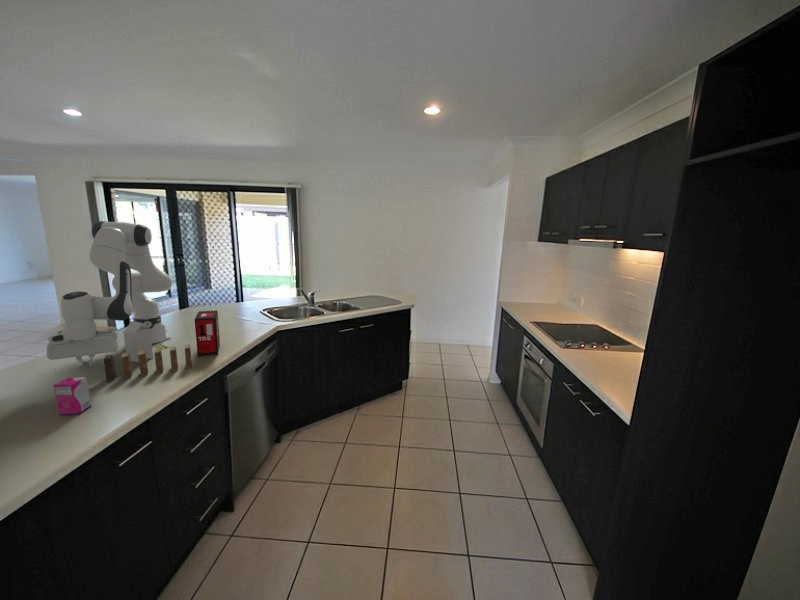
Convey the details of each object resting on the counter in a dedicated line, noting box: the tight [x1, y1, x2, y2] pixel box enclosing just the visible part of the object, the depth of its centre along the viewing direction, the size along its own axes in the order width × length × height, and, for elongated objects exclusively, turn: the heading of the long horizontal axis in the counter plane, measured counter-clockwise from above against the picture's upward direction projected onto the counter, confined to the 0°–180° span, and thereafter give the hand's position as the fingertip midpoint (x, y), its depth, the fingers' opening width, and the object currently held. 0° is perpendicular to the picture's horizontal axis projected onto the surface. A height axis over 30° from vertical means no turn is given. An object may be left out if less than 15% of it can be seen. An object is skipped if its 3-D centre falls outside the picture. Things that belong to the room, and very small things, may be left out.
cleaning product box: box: [194, 309, 221, 358], centre depth 167 cm, size 16×9×20 cm, turn 26°
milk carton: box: [122, 321, 154, 364], centre depth 152 cm, size 7×7×19 cm
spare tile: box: [103, 354, 117, 383], centre depth 132 cm, size 2×5×10 cm, turn 34°
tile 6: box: [183, 344, 193, 370], centre depth 147 cm, size 2×5×10 cm, turn 34°
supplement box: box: [52, 376, 93, 416], centre depth 108 cm, size 6×6×12 cm
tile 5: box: [169, 346, 179, 372], centre depth 144 cm, size 2×5×10 cm, turn 34°
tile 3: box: [138, 350, 149, 377], centre depth 138 cm, size 2×5×10 cm, turn 34°
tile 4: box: [153, 347, 164, 375], centre depth 141 cm, size 2×5×10 cm, turn 34°
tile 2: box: [120, 352, 133, 380], centre depth 135 cm, size 2×5×10 cm, turn 34°
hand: (86, 365), depth 128 cm, fingers closed
